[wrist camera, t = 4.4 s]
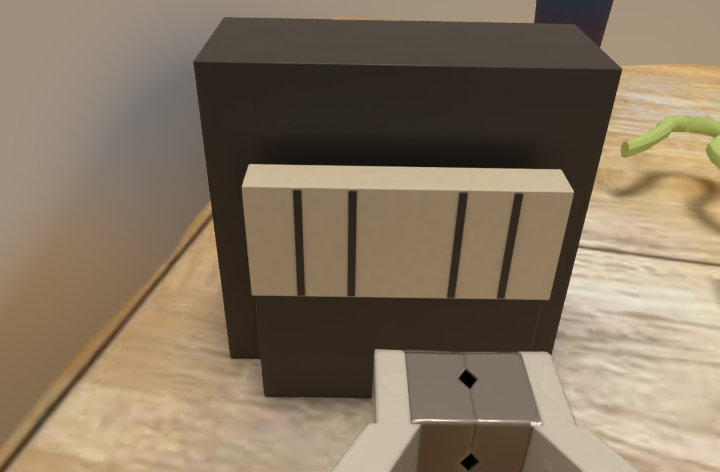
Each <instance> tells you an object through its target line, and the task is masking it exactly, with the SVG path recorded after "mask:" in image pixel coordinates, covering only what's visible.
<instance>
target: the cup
mask: <svg viewBox="0 0 720 472" xmlns="http://www.w3.org/2000/svg"><path fill="white" fill-rule="evenodd" d="M612 4H613V0H537V1H536V11H535V21H534V23H544V24H575V25H576V26H577V27H578V28H579V29H580V30H581V31H583V32H584V33H585V34H586V35H587V36H588V37H589V38H590V39H591V40H592V41H593V42H594V43H595V44H596V45H597V46H598V47H599V48H600V46H601V42H602V39H603V35H604V31H605V28H606V24H607V21H608V18H609V14H610V11H611V7H612Z"/></svg>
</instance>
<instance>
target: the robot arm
mask: <svg viewBox="0 0 720 472" xmlns="http://www.w3.org/2000/svg"><path fill="white" fill-rule="evenodd" d="M331 472H640V471H639V470H638V469H637V468H636V467H634V466H633V465H632V464H631V463H630V462H628V461H627V460H626V459H625V458H624V457H622V456H621V455H620V454H619V453H618V452H616V451H615V450H614V449H613V448H612V447H610V446H609V445H608V444H607V443H606V442H604V441H603V440H602V439H601V438H600V437H598V436H597V435H596V434H595V433H594V432H592V431H591V430H590V429H589V428H588V427H586V426H577V424H576V421H575V419H574V416H573V413H572V411H571V408H570V405H569V402H568V400H567V397H566V394H565V392H564V389H563V386H562V383H561V381H560V378H559V375H558V373H557V370H556V367H555V365H554V362H553V359H552V356H551V355H550V354H549V353H548V352H518V353H517V352H452V351H425V350H404V351H403V350H383V349H375V351H374V363H373V384H372V412H371V423H368V424H367V425H366V426H365V428H364V429H363V430H362V432H361V433H360V434H359V435H358V437H357V438H356V439H355V441H354V442H353V443H352V444H351V446H350V447H349V448H348V450H347V451H346V452H345V453H344V455H343V456H342V457H341V459H340V460H339V461H338V463H337V464H336V465H335V466H334V468H333V469H332V470H331Z"/></svg>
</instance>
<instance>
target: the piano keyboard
mask: <svg viewBox="0 0 720 472" xmlns="http://www.w3.org/2000/svg"><path fill="white" fill-rule="evenodd" d="M573 195H574V191H573V189H572V187H571V186H570V184H569V182H568V180H567V179H566V177H565V175H564V173H563V172H562V170H560V169H501V168H442V167H384V166H325V165H266V164H249V165H248V169H247V172H246V175H245V178H244V181H243V184H242V197H243V208H244V218H245V229H246V239H247V250H248V261H249V271H250V282H251V292H252V295H256V296H323V297H390V298H457V299H524V300H549V299H550V295H551V290H552V286H553V282H554V277H555V273H556V269H557V264H558V260H559V256H560V251H561V247H562V243H563V238H564V234H565V230H566V225H567V221H568V217H569V212H570V208H571V204H572V199H573Z"/></svg>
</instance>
